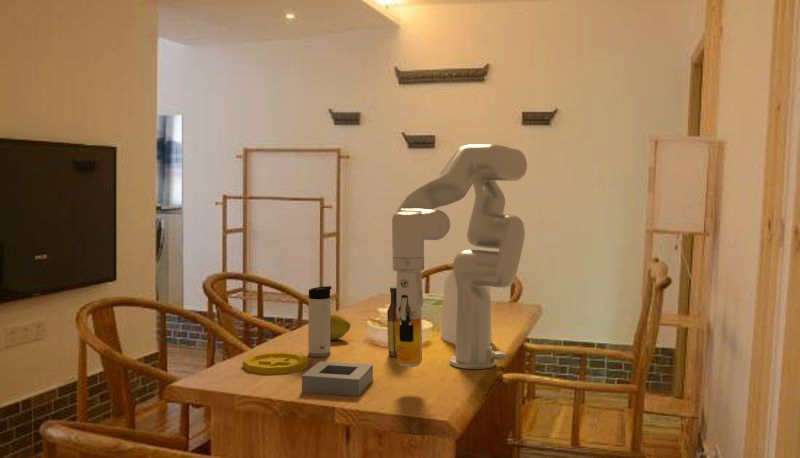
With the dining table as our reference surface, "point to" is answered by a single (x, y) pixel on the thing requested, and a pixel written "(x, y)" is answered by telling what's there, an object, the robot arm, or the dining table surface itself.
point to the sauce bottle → (392, 324)
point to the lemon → (338, 327)
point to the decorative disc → (275, 362)
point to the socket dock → (337, 378)
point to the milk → (452, 310)
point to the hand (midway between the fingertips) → (409, 337)
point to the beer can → (410, 351)
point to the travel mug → (319, 322)
